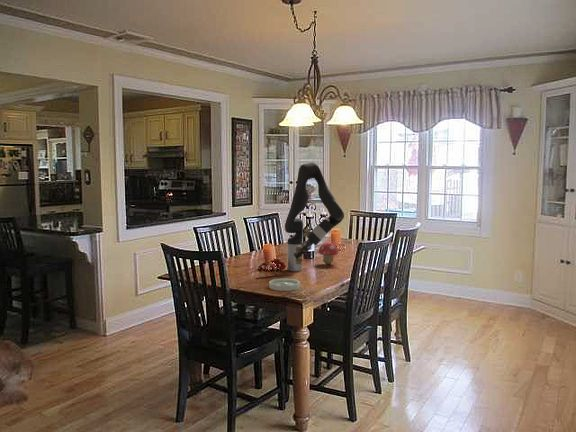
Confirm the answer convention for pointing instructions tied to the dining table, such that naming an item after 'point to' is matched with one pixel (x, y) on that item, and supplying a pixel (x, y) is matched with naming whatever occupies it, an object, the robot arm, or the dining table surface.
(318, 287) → the dining table surface
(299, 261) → the bead stack
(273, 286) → the tray
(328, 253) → the decorative mushroom
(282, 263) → the decorative berry sprig
